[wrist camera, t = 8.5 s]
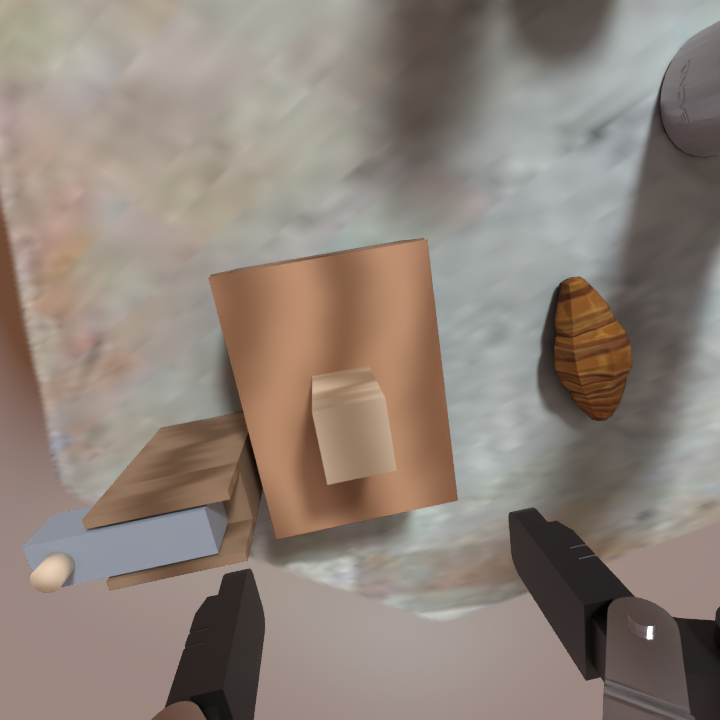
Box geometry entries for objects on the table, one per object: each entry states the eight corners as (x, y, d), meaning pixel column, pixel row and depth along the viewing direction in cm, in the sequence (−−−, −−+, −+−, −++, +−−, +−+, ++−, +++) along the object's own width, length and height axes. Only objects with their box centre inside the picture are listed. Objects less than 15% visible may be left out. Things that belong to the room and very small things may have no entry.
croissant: (523, 291, 35) (556, 297, 31) (597, 263, 36) (642, 264, 31) (557, 426, 39) (591, 451, 34) (623, 401, 39) (667, 422, 34)
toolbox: (398, 241, 33) (446, 235, 21) (425, 444, 38) (477, 532, 26) (116, 289, 32) (-2, 312, 20) (181, 494, 36) (118, 612, 25)
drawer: (216, 481, 26) (199, 522, 22) (228, 521, 27) (213, 568, 23) (54, 514, 26) (6, 563, 22) (71, 554, 27) (28, 608, 22)
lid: (422, 240, 25) (462, 235, 19) (453, 492, 30) (493, 561, 23) (212, 276, 25) (174, 285, 18) (277, 529, 29) (267, 612, 23)
